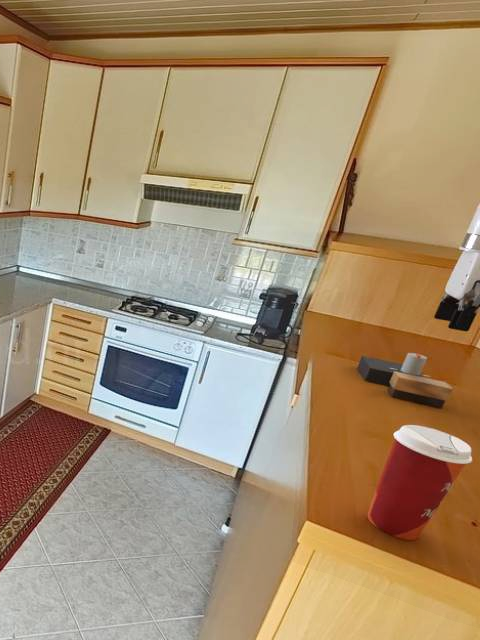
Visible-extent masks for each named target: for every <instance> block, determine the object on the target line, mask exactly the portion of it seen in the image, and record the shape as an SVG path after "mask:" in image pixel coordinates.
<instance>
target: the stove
mask: <svg viewBox="0 0 480 640" xmlns="http://www.w3.org/2000/svg"><path fill="white" fill-rule="evenodd" d="M402 366H403V363H398V362H394V361H390V360H384V359H379V358H375V357H372V356H371V357H370V356H366V355H361V357H360V360H359V363H358V365H357V367H356V368H357V370H358V371H359V373H360V375H361V377H362V378H363V380H364V381H365V382H369V383H374V384H378V385H383V386H386V387H389V386H390V383H389V382H390V380H391V378H392V375H393V373H394V371H395V372H400V373H404V372H402V371H401V368H402ZM405 374H407V373H405ZM409 375H411V374H409ZM414 376H419V377H423V378H431V376H430V375H427V374H422V373H421V372H420V375H414Z"/></svg>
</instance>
